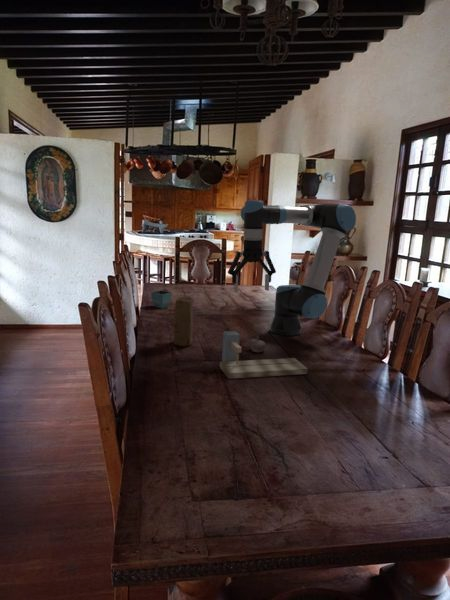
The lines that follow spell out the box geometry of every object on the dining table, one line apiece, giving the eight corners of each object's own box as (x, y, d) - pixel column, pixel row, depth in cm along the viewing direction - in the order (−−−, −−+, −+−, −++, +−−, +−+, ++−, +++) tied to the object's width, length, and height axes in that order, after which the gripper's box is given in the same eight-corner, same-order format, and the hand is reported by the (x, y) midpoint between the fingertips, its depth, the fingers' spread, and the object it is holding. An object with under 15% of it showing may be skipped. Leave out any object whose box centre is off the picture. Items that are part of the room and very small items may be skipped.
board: (293, 362, 177) (294, 357, 177) (307, 373, 166) (307, 368, 165) (219, 366, 169) (219, 361, 169) (228, 378, 158) (228, 372, 157)
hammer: (234, 360, 177) (235, 330, 175) (244, 372, 165) (246, 340, 162) (221, 361, 176) (223, 331, 173) (231, 373, 163) (232, 341, 161)
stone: (189, 347, 191) (191, 301, 187) (172, 346, 191) (173, 300, 187) (194, 340, 201) (195, 296, 197) (177, 339, 202) (178, 295, 198)
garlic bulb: (257, 347, 196) (258, 329, 194) (270, 351, 191) (271, 332, 189) (245, 350, 191) (246, 331, 189) (258, 354, 186) (259, 335, 184)
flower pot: (172, 307, 266) (172, 292, 264) (162, 309, 258) (162, 294, 256) (160, 305, 270) (160, 290, 268) (150, 307, 263) (150, 292, 261)
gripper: (277, 238, 191) (275, 287, 195) (220, 238, 184) (220, 290, 188) (285, 239, 184) (282, 291, 188) (226, 240, 177) (225, 293, 181)
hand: (251, 290), depth 188 cm, fingers open, 13 cm apart
